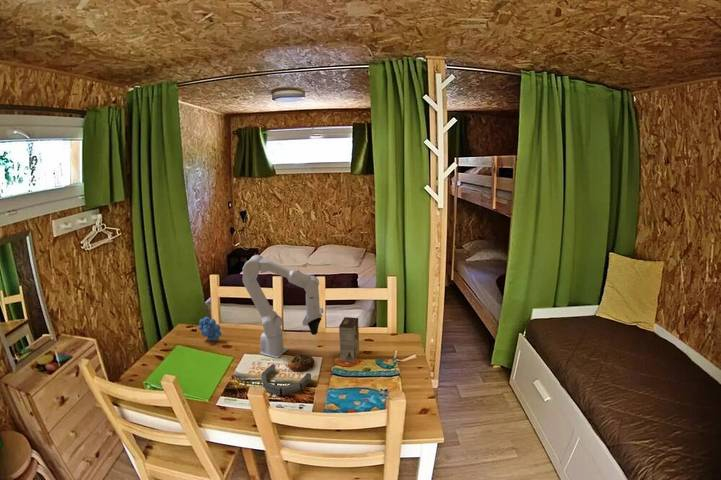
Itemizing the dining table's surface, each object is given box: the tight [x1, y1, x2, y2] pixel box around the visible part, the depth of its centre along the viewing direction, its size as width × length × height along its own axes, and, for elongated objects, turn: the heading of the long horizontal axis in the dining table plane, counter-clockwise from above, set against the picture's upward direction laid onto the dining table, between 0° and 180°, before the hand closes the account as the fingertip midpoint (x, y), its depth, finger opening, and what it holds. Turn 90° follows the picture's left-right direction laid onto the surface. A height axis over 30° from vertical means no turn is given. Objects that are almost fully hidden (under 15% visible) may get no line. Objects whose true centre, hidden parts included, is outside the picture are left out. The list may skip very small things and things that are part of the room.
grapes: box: [198, 316, 223, 342], centre depth 163 cm, size 12×7×12 cm, turn 77°
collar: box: [260, 364, 312, 396], centre depth 131 cm, size 18×12×2 cm
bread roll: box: [287, 353, 315, 372], centre depth 144 cm, size 11×11×5 cm
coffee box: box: [338, 316, 360, 363], centre depth 148 cm, size 9×6×16 cm
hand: (314, 333), depth 152 cm, fingers closed
